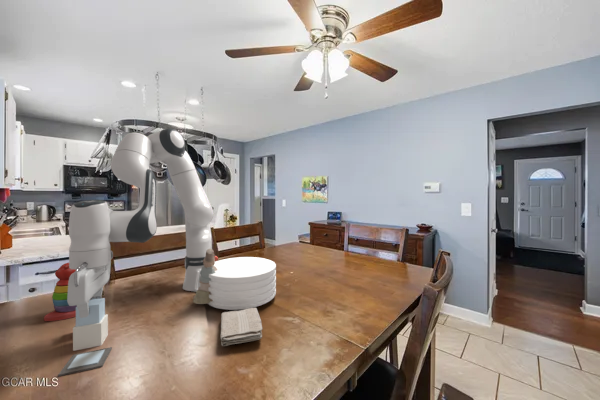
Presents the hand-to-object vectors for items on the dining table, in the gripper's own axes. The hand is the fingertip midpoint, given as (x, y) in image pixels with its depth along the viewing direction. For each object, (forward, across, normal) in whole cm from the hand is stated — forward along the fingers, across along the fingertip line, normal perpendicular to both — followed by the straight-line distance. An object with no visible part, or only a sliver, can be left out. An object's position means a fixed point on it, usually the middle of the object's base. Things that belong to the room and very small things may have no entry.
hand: (91, 309), depth 70 cm
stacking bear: (+9, +25, +13) cm, 30 cm away
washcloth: (+10, -9, -39) cm, 41 cm away
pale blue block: (+3, 0, 0) cm, 3 cm away
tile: (+9, -10, -2) cm, 14 cm away
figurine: (+8, +14, -30) cm, 35 cm away
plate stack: (+9, +17, -44) cm, 48 cm away
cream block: (+9, 0, 0) cm, 9 cm away
